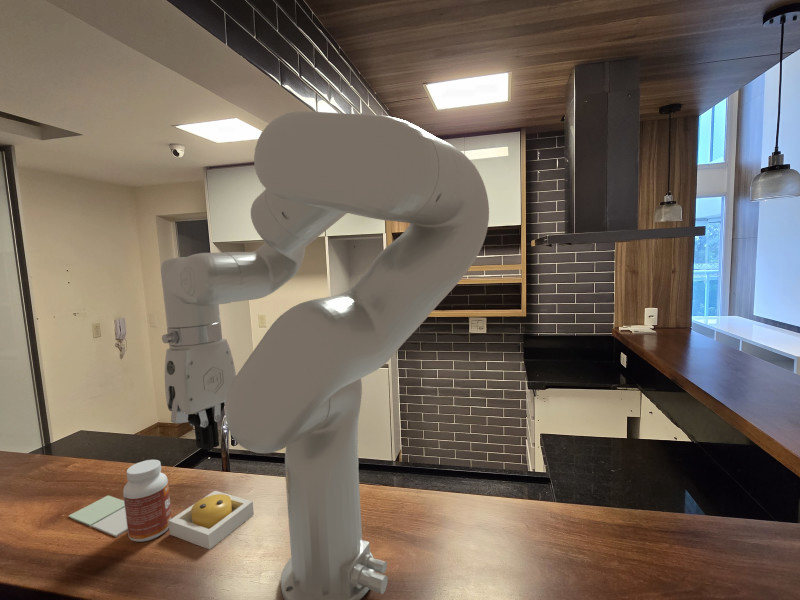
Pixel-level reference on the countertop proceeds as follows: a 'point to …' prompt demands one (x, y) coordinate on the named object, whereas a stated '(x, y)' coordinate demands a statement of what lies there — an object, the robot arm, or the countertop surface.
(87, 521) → the pale green square tile
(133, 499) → the pill bottle
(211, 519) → the dome
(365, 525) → the countertop surface
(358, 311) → the robot arm
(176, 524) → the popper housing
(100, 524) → the grey square tile
